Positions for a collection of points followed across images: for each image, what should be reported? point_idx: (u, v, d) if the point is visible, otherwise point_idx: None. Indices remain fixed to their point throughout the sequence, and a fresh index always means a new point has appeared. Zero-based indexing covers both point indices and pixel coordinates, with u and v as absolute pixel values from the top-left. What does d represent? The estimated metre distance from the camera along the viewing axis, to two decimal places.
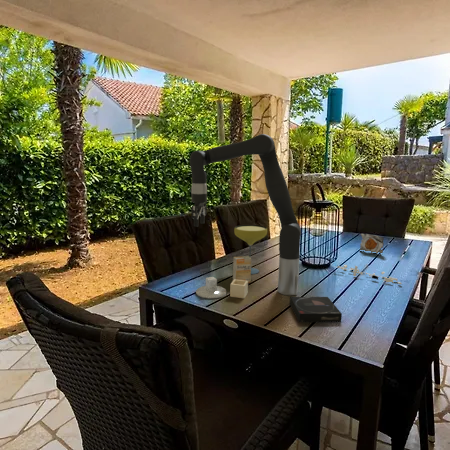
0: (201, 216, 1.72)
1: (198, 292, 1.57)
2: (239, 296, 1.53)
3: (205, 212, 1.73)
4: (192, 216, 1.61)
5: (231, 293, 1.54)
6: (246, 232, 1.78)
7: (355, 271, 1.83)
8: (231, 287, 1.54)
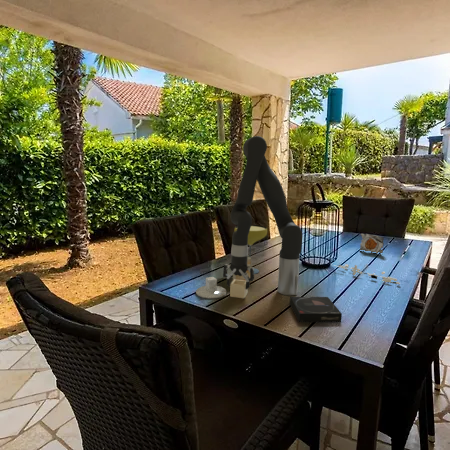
0: (229, 278, 1.57)
1: (198, 292, 1.57)
2: (239, 296, 1.53)
3: None
4: (252, 279, 1.53)
5: (231, 293, 1.54)
6: None
7: (354, 270, 1.84)
8: (231, 287, 1.54)
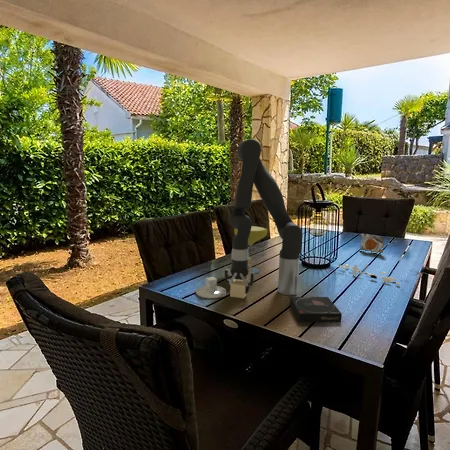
0: None
1: (198, 292, 1.57)
2: (239, 296, 1.53)
3: None
4: None
5: (231, 293, 1.54)
6: None
7: (354, 270, 1.85)
8: (231, 287, 1.54)
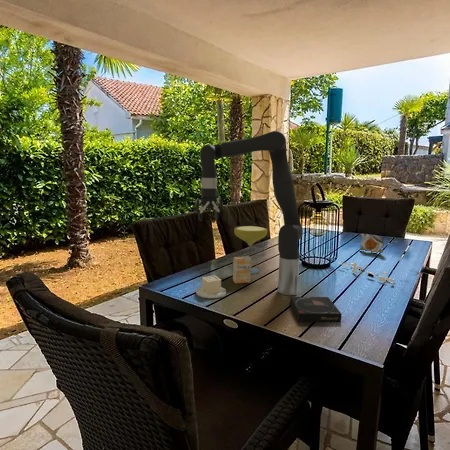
0: None
1: (198, 292, 1.57)
2: (217, 291, 1.56)
3: None
4: None
5: (209, 290, 1.54)
6: (246, 232, 1.78)
7: (354, 268, 1.88)
8: (209, 285, 1.54)
